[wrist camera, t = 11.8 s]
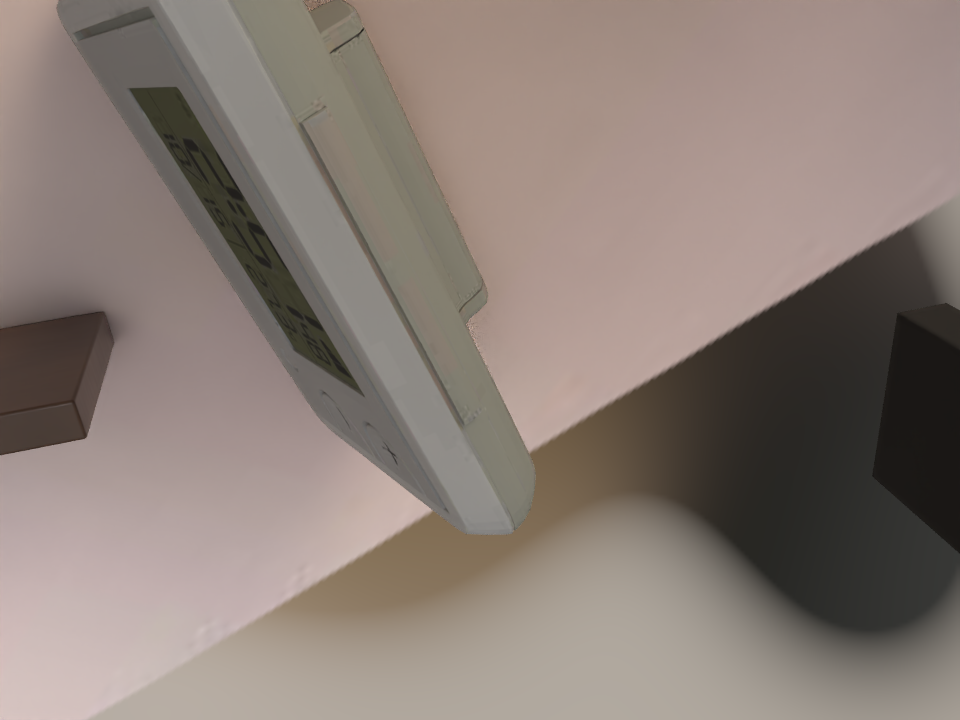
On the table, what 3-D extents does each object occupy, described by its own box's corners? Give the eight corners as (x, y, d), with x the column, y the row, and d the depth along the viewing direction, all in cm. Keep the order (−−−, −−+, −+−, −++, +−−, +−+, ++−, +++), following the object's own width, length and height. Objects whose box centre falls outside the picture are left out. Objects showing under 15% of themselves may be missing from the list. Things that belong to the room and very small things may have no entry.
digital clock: (39, -55, 23) (-94, -43, 13) (369, -132, 24) (455, -171, 15) (246, 441, 30) (251, 662, 21) (486, 365, 32) (590, 544, 22)
